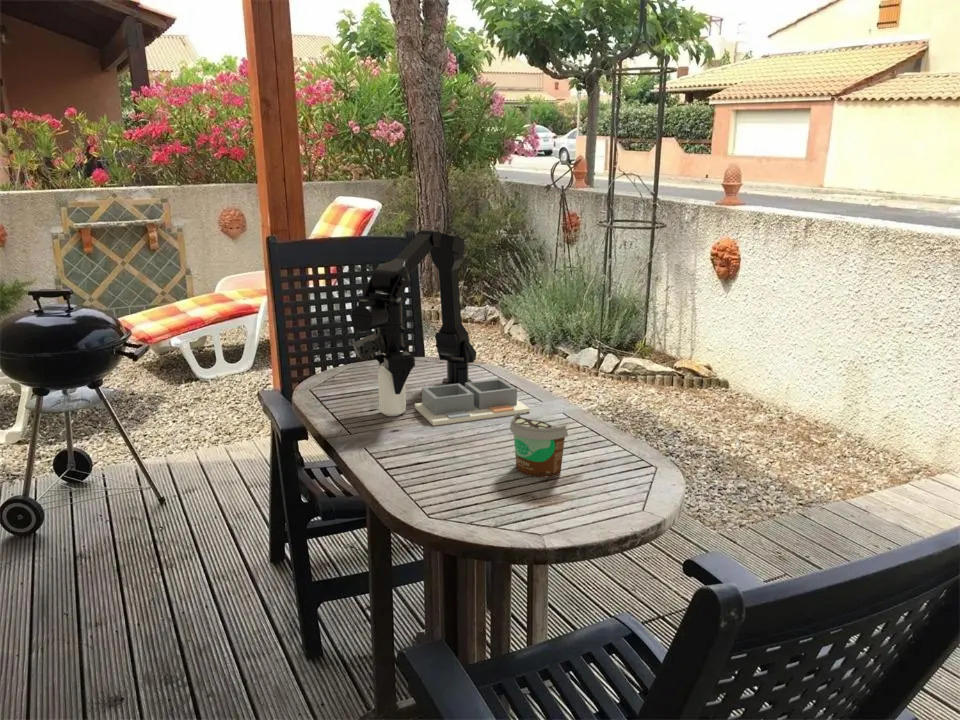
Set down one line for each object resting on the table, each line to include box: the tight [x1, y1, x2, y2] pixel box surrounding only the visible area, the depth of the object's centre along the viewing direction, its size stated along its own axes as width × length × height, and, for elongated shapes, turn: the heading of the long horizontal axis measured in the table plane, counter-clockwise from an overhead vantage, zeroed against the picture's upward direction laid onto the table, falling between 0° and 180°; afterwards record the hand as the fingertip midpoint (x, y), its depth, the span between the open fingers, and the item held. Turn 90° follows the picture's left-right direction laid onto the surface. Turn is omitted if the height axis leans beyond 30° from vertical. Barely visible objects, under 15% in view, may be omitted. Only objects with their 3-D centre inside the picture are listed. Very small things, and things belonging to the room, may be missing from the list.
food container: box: [509, 412, 569, 478], centre depth 146 cm, size 12×6×10 cm, turn 47°
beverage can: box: [377, 363, 407, 417], centre depth 180 cm, size 6×6×12 cm
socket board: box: [414, 378, 531, 426], centre depth 183 cm, size 14×24×5 cm, turn 112°
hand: (392, 388), depth 180 cm, fingers open, 9 cm apart
